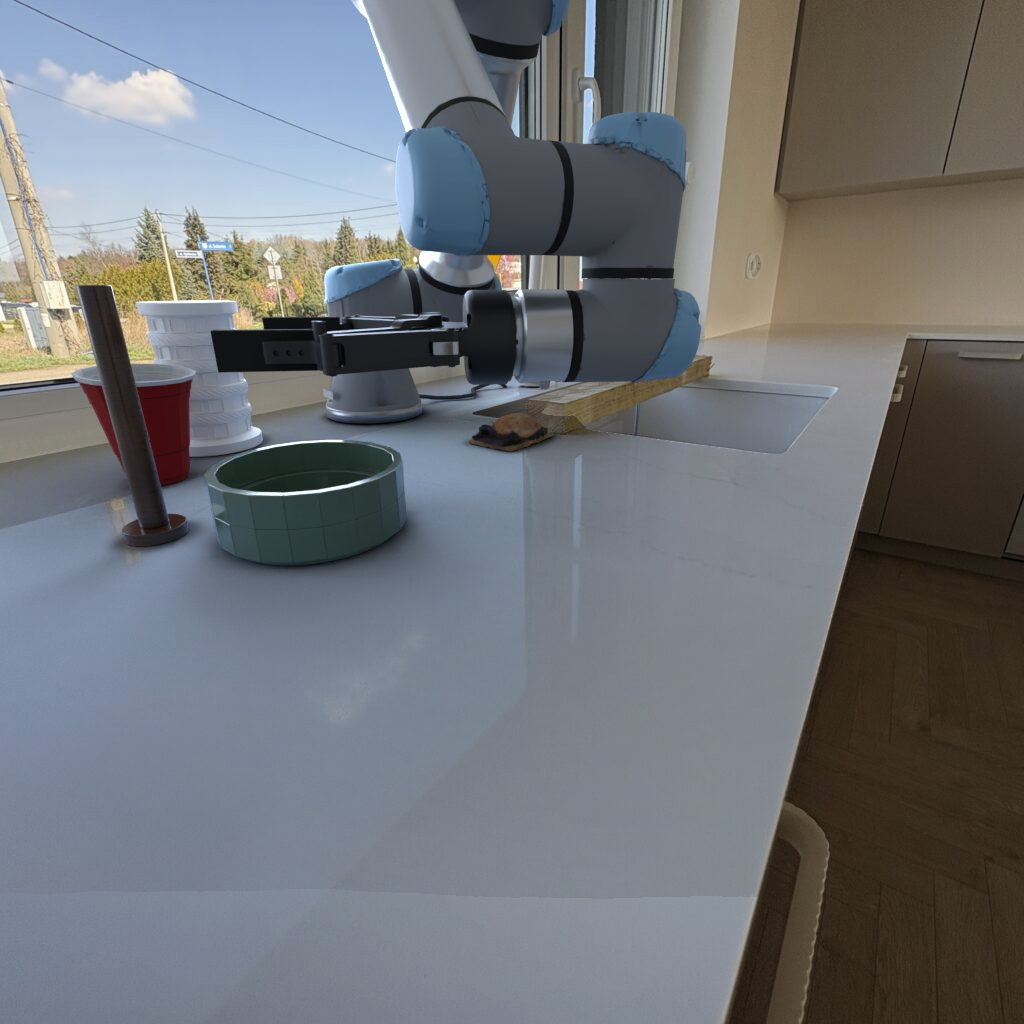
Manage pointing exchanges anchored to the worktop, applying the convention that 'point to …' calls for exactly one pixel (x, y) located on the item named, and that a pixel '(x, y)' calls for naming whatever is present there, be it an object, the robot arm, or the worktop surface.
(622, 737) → the worktop surface
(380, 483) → the bowl
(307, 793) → the worktop surface
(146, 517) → the stirring stick
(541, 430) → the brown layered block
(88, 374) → the plastic cup
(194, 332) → the decorative container
